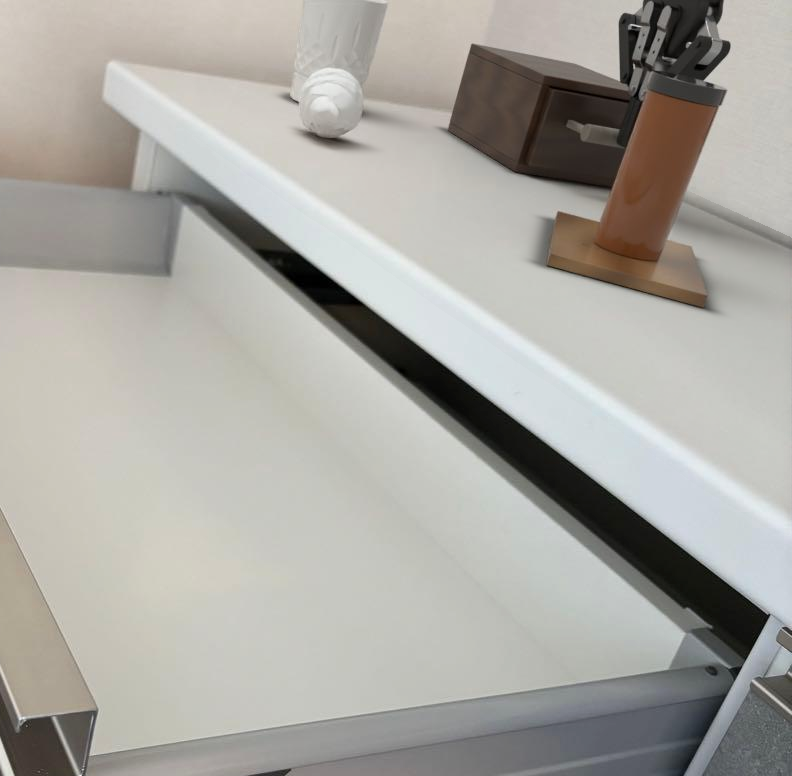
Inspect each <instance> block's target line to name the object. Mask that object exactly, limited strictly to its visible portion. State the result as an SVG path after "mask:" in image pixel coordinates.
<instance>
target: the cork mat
mask: <svg viewBox="0 0 792 776" xmlns="http://www.w3.org/2000/svg"><path fill="white" fill-rule="evenodd" d="M599 222H600V221H597V220H594V219H589V218H586V217H582V216H579V215H574V214H571V213H567V212H563V211H559V210H557V212H556V215H555V217H554V221H553V227H552V231H551V237H550V244H549V249H548V255H547V260H546V266H548V267H552V268H554V269H559V270H564V271H566V272H570V273H574V274H578V275H581V276H584V277H589V278H592V279H596V280H600V281H603V282H606V283H611V284H614V285H618V286H620V287H621V286H622V287H626V288H629V289H633V290H637V291H640V292H644V293H647V294H650V295H655V296H659V297H662V298H666V299H670V300H674V301H678V302H681V303H684V304H688V305H691V306H695V307H699V308H704V306H705V303H706V301H707V299H708V297H709V296H708V295H709V294H708V293H707V289H706V286H705V282H704V280H703V277H702V274H701V271H700V267H699V265H698V261H697V258H696V255H695V252H694V249H693V246H692V245H689V244H685V243H681V242H677V241H673V240H669V239H667V242H666V244H665V247H664V249H663V252H662V254H661V257H660V259H659V260H656V261H645V260H639V259H634V258H629V257H625V256H622V255H619V254H616V253H613V252H610V251H608V250H606V249H604V248H602V247H600V246H598V245H597V244H596V243H594V241H593V239H594V236H595V233H596V231H597V228H598V225H599Z"/></svg>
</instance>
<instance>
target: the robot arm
mask: <svg viewBox="0 0 792 776" xmlns="http://www.w3.org/2000/svg"><path fill="white" fill-rule="evenodd" d="M724 2H725V0H642V7H640V8H639V9H638V10H637V11H636V12H634V13H628V12H623V13H622V14H621V15H620V16H619V20H618V55H619V57H618V58H619V59H618V61H619V81H620V82H621V83H622V84H627V86H628V95H629V96H631V98H630V101H629V104H628V107H627V110H626V113H625V116H624V118H623V121H622V122H623V123H622V124H621V127H620V130H619V134H618V137H617V144H618V145H619V146H621V147H624V148H626V147H627V144H628V141H629V138H630V136H631V133H632V130H633V127H634V124H635V122H636V119H637V116H638V113H639V110H640V108H641V105H642V102H643V99H644V96H645V94H646V91H647V83H648V81H649V78H650V75H651V72H652V71H663V72H668V73H673V74H678V75H682V76H686V77H690V78H694V79H698V80H702V81H705V80H706V79H707V78H708V77H709V76H710V75H711V74H712V72H713V71H714V70H715V69H716V68H717V67H718V66H719V65H720V64H721V63H722V61H724V60H725V58H726V57H728V55H729V53H730V51H731V47H732V45H731V42H730V41H729V40H725V39H722V38H721V37H720V34H719V29H718V26H717V25H718V24H719V23H720V21H721V19H722V16H723V11H724Z"/></svg>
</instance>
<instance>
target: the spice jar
mask: <svg viewBox="0 0 792 776" xmlns="http://www.w3.org/2000/svg"><path fill="white" fill-rule="evenodd" d="M727 93H728V88H726V87H724V86H721V85H718V84H715V83H712V82H709V81H707V80H706V81H705V80H704V81H702V80H698V79H694V78H690V77H686V76H682V75H678V74H673V73H668V72H663V71H652V72H651V75H650V78H649V81H648V83H647V91H646V94H645V96H644V99H643V102H642V105H641V108H640V110H639V113H638V116H637V119H636V122H635V124H634V127H633V130H632V133H631V136H630V138H629V141H628V144H627V147H626V150H625V152H624V155H623V158H622V161H621V164H620V166H619V169H618V172H617V175H616V177H615V180H614V183H613V186H612V187H611V189H610V192H609V195H608V197H607V200H606V203H605V206H604V208H603V212H602V214H601V216H600V220H599V221H598V222H599V225H598V228H597V231H596V233H595V236H594V239H593V241H594V243H596V244H597V245H598V246H600V247H602V248H604V249H606V250H608V251H610V252H613V253H616V254H619V255H622V256H625V257H629V258H634V259H639V260H645V261H656V260H659V259H660V257H661V254H662V252H663V249H664V247H665V244H666V242H667V240H669V237H670V234H671V231H672V229H673V227H674V224H675V222H676V219H677V216H678V214H679V211H680V209H681V206H682V203H683V201H684V198H685V196H686V194H687V191H688V188H689V186H690V183H691V180H692V178H693V175H694V173H695V170H696V168H697V165H698V163H699V161H700V157H701V155H702V154H703V153H702V152H703V149H704V148H705V144H706V142H707V139H708V138H709V135H710V132H711V130H712V126H713V125H714V122H715V119H716V117H717V114H718V112H719V109H720V107H722V105H723V104H724V102H725V101H724V100H725V98H726V96H727Z"/></svg>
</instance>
